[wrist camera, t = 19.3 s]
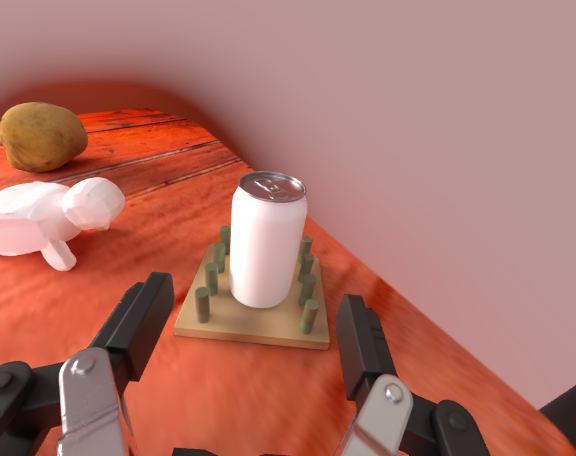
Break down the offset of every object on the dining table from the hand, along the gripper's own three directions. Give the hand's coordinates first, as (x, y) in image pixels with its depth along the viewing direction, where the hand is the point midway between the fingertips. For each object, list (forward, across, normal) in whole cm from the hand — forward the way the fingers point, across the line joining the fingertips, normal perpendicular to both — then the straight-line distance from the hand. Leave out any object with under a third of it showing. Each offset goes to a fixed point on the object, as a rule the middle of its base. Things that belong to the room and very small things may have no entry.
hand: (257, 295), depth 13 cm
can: (+12, 0, +12) cm, 17 cm away
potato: (+36, +38, +13) cm, 54 cm away
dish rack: (+12, 0, +13) cm, 17 cm away
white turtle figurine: (+16, +23, +13) cm, 31 cm away
